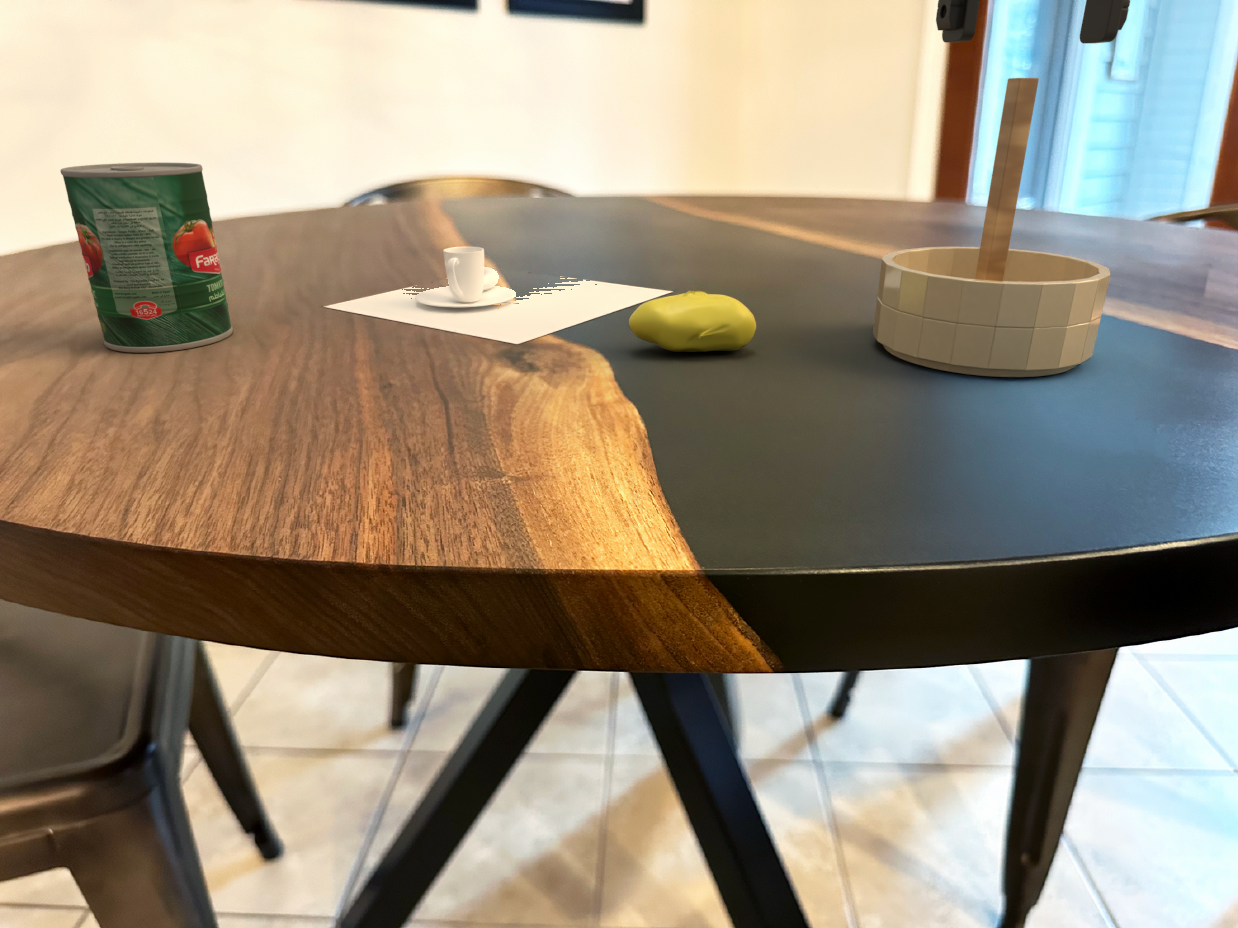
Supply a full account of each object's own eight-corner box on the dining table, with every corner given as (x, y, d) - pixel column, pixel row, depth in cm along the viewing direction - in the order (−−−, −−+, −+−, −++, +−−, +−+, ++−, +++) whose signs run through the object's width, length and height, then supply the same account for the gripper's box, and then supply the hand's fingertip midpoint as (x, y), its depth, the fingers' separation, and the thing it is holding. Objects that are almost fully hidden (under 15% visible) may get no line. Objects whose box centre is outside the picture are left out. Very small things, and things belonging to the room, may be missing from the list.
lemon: (758, 361, 51) (762, 298, 50) (627, 360, 52) (627, 297, 50) (751, 343, 55) (755, 284, 54) (630, 342, 55) (630, 283, 54)
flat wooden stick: (991, 329, 56) (1035, 79, 50) (1038, 349, 51) (1093, 77, 45) (922, 333, 55) (958, 79, 49) (963, 353, 51) (1009, 77, 45)
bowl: (1008, 322, 60) (1022, 244, 58) (1139, 374, 49) (1163, 279, 47) (841, 330, 58) (849, 249, 56) (935, 386, 47) (950, 287, 44)
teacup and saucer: (471, 286, 73) (468, 237, 71) (543, 296, 68) (541, 245, 67) (394, 304, 66) (388, 252, 64) (468, 317, 62) (463, 262, 60)
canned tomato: (250, 338, 57) (219, 166, 52) (120, 360, 52) (74, 173, 48) (212, 318, 62) (181, 160, 58) (92, 335, 57) (48, 166, 53)
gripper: (1001, -389, 36) (945, 38, 42) (1289, -364, 38) (1194, 38, 44) (914, -311, 42) (877, 46, 49) (1163, -293, 45) (1096, 46, 51)
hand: (1028, 42), depth 47 cm, fingers open, 8 cm apart
